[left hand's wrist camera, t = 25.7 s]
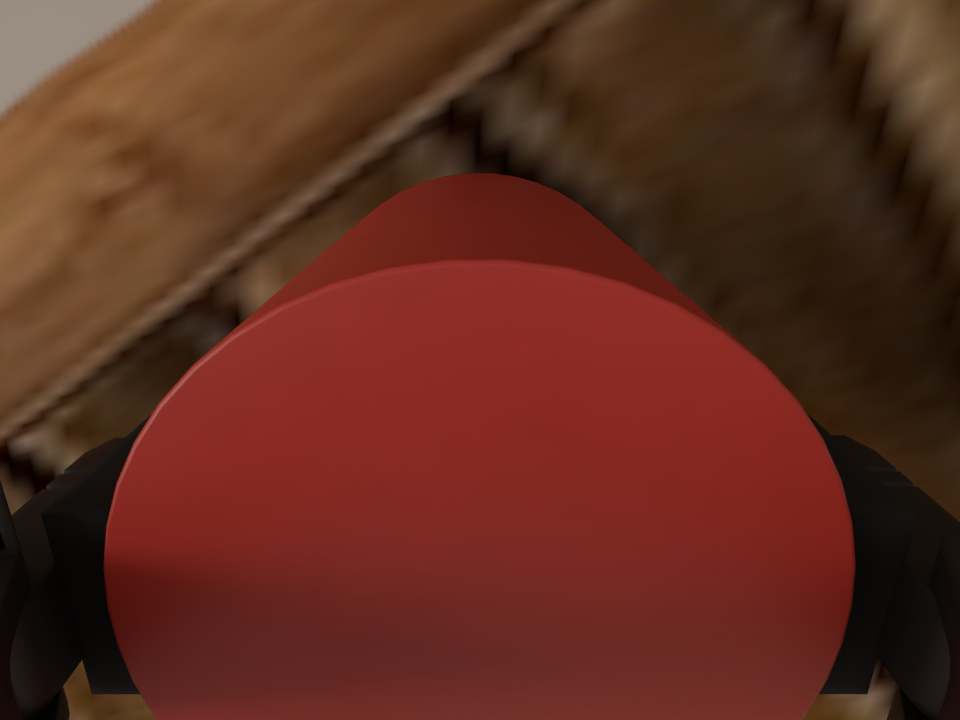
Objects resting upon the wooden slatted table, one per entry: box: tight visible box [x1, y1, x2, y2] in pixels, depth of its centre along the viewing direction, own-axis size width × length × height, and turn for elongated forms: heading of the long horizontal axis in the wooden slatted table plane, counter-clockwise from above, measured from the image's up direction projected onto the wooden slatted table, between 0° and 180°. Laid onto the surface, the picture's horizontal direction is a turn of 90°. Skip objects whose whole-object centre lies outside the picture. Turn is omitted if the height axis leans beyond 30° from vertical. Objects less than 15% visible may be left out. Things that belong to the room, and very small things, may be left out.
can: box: [104, 173, 856, 720], centre depth 12 cm, size 8×8×10 cm
